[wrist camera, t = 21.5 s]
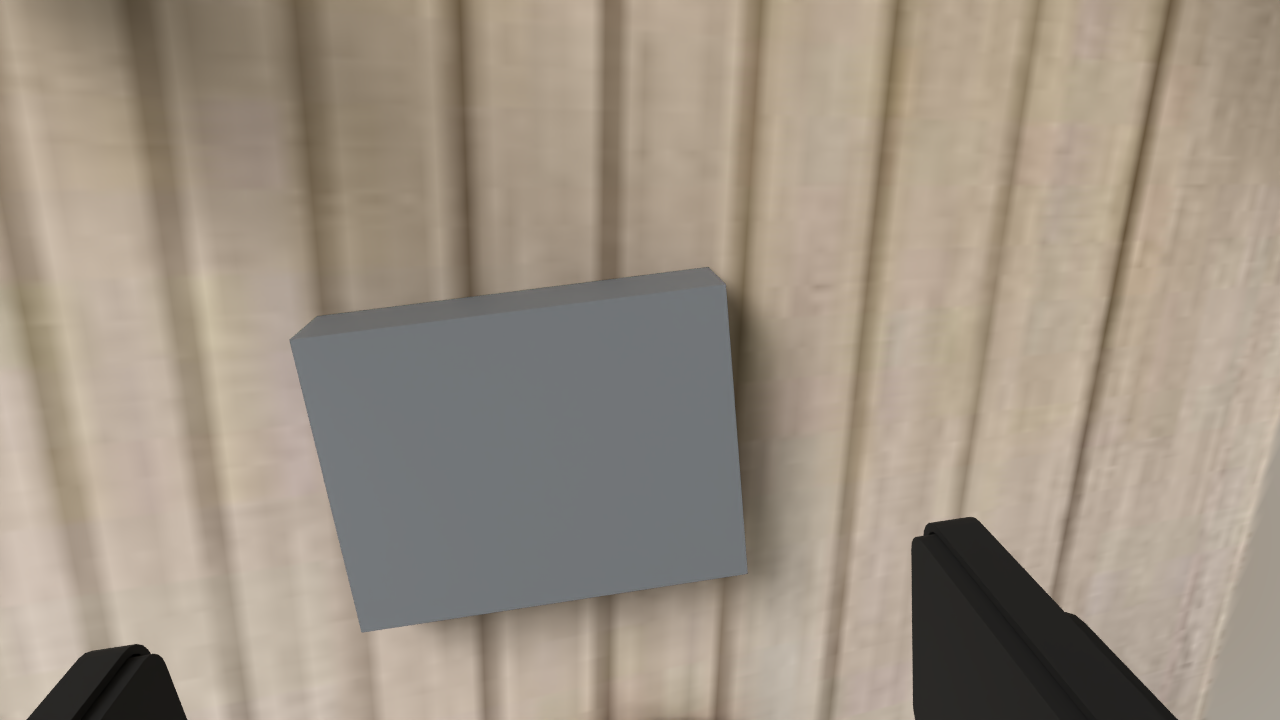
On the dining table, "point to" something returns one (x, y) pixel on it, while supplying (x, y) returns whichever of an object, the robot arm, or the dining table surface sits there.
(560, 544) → the podium
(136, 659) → the robot arm
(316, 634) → the dining table surface
